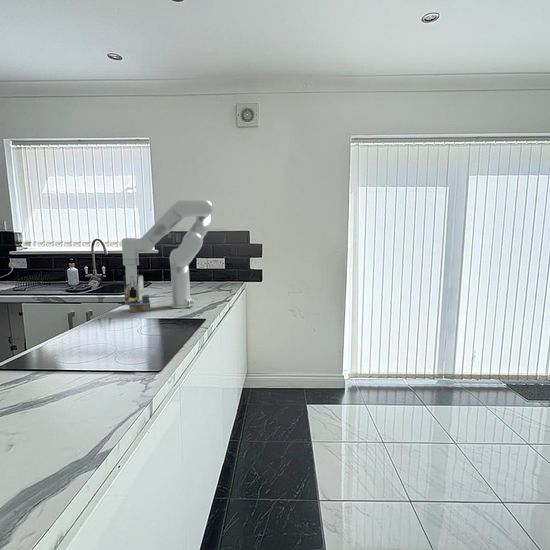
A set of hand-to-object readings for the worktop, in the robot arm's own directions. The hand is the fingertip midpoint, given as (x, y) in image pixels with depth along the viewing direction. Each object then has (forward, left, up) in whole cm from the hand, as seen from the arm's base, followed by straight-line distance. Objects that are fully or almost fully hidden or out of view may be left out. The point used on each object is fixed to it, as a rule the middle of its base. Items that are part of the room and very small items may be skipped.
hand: (133, 297), depth 180 cm
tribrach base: (-2, -2, -7) cm, 8 cm away
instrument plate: (-2, -2, -4) cm, 5 cm away
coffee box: (+13, -16, -7) cm, 22 cm away
